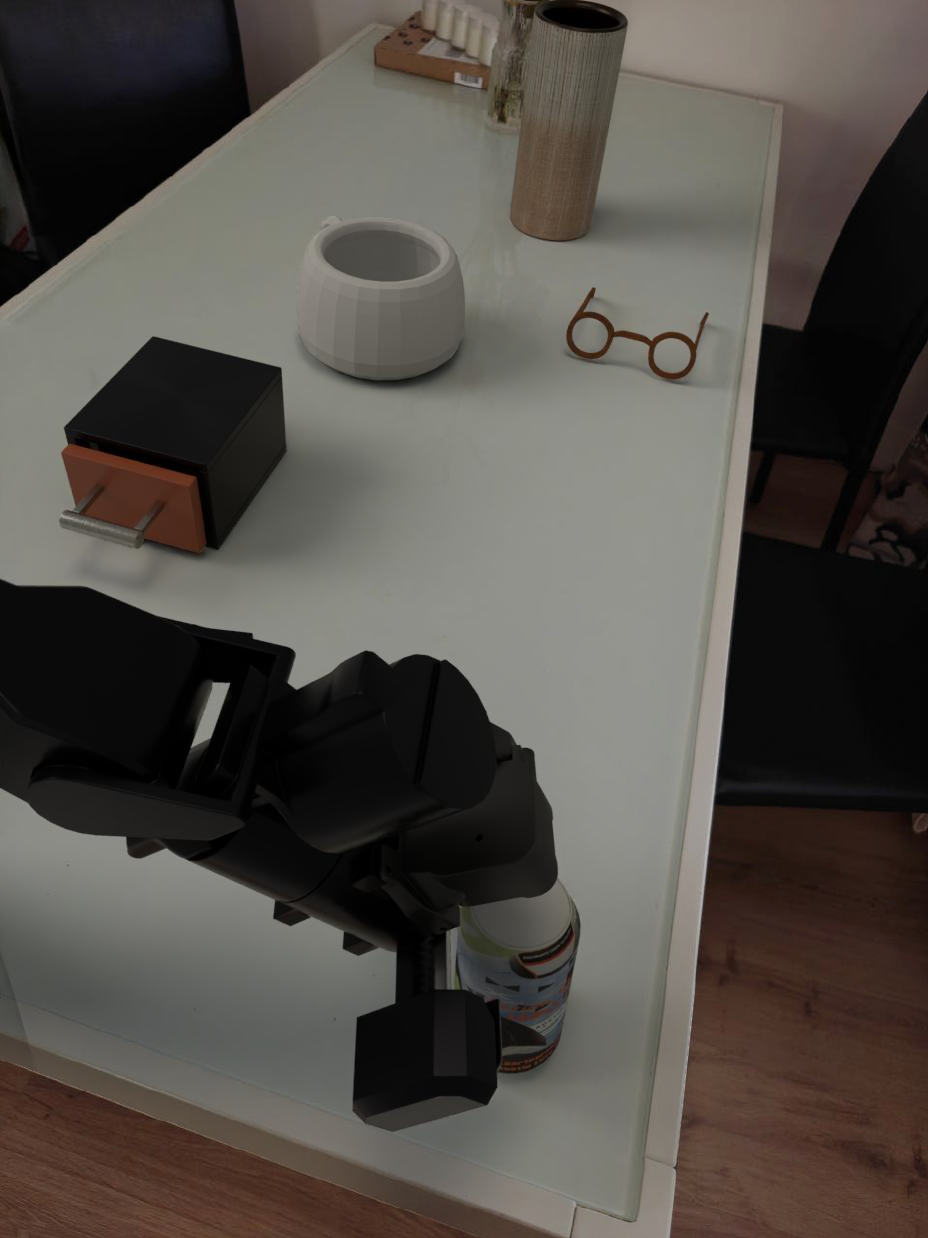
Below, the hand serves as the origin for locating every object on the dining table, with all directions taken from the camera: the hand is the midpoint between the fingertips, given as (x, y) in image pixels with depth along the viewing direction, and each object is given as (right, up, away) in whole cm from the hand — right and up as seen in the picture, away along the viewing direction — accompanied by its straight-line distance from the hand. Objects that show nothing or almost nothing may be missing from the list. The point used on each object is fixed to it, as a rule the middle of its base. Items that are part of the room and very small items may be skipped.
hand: (532, 951), depth 50 cm
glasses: (+15, +46, +55) cm, 73 cm away
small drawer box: (-27, +29, +34) cm, 51 cm away
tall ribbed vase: (+7, +65, +71) cm, 97 cm away
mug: (-13, +46, +51) cm, 70 cm away
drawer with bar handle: (-28, +26, +30) cm, 48 cm away
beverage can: (-1, -5, +5) cm, 8 cm away
